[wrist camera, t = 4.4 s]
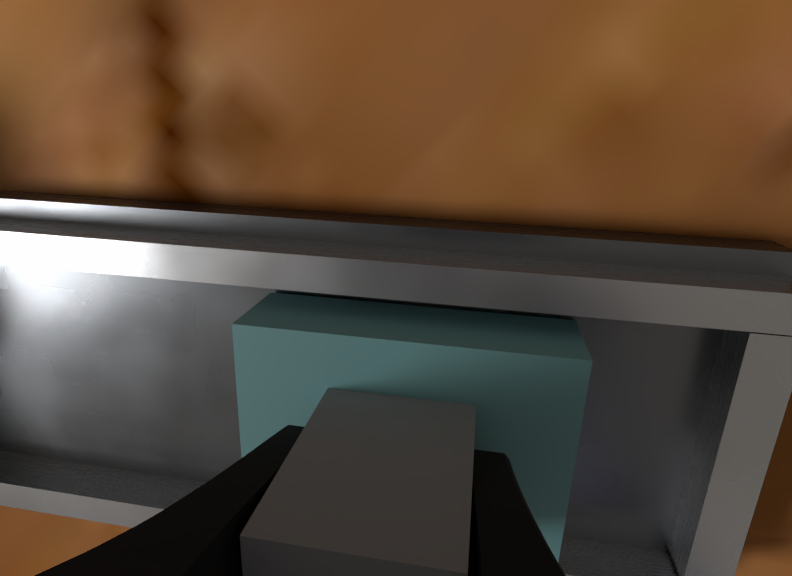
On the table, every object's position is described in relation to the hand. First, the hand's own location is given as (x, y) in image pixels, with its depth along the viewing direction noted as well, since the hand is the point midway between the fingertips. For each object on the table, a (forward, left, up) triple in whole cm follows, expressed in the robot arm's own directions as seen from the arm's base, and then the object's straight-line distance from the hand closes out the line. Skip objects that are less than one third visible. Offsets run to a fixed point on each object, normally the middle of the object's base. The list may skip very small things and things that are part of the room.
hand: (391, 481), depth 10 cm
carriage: (0, 0, -3) cm, 3 cm away
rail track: (+3, -1, -4) cm, 5 cm away
